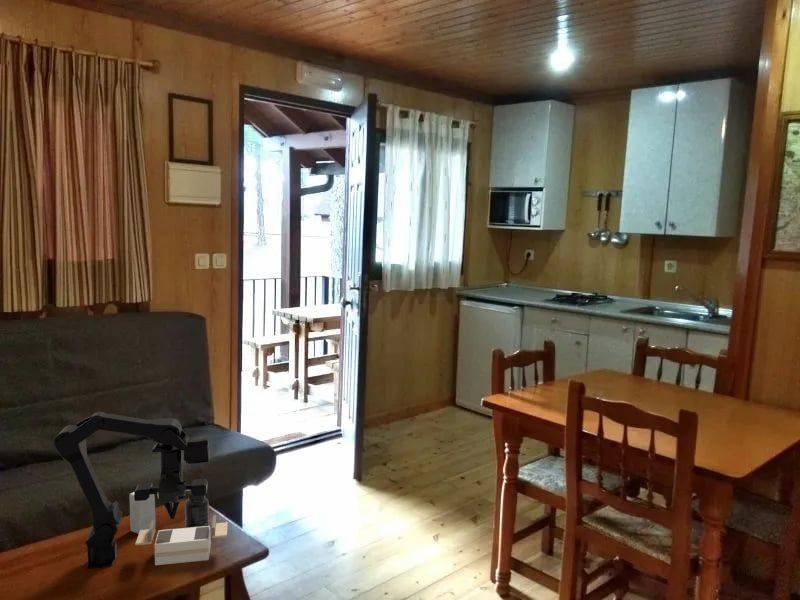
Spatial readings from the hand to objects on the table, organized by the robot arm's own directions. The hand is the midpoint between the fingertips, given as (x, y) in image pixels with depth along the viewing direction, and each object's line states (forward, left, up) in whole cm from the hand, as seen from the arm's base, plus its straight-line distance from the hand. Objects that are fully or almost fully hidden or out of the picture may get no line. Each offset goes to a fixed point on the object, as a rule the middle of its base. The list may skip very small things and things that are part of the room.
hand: (172, 518), depth 173 cm
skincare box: (-11, +17, -11) cm, 23 cm away
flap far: (+13, -1, -4) cm, 13 cm away
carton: (+3, -1, -11) cm, 11 cm away
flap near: (-7, -1, -4) cm, 8 cm away
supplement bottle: (+5, +14, -11) cm, 18 cm away
